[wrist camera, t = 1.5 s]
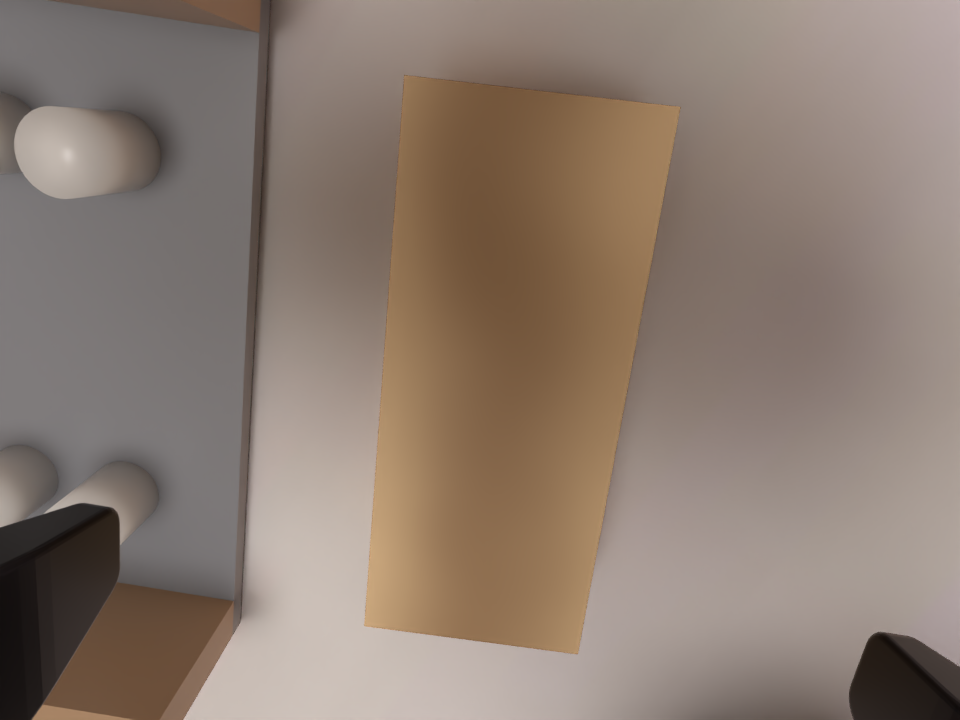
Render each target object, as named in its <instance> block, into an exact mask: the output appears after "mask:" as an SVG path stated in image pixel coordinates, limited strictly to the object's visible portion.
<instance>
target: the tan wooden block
mask: <svg viewBox="0 0 960 720" xmlns="http://www.w3.org/2000/svg"><path fill="white" fill-rule="evenodd" d="M680 108H681V107H676V106H668V105H659V104H650V103H642V102H633V101H624V100H616V99H607V98H598V97H590V96H581V95H572V94H564V93H555V92H547V91H538V90H529V89H521V88H512V87H503V86H495V85H486V84H477V83H469V82H460V81H451V80H443V79H434V78H425V77H417V76H408V75H404V85H403V99H402V113H401V127H400V140H399V154H398V168H397V182H396V196H395V209H394V223H393V237H392V251H391V265H390V278H389V292H388V306H387V320H386V334H385V347H384V361H383V375H382V389H381V403H380V416H379V430H378V444H377V458H376V472H375V486H374V499H373V513H372V527H371V541H370V555H369V568H368V582H367V596H366V610H365V624H364V626H367V627H375V628H383V629H390V630H398V631H405V632H413V633H420V634H428V635H436V636H443V637H451V638H458V639H466V640H474V641H481V642H489V643H496V644H504V645H511V646H519V647H527V648H534V649H542V650H549V651H557V652H564V653H572V654H578V650H579V645H580V640H581V634H582V629H583V624H584V618H585V613H586V608H587V602H588V597H589V592H590V586H591V581H592V576H593V570H594V565H595V560H596V554H597V549H598V544H599V538H600V533H601V528H602V523H603V517H604V512H605V507H606V501H607V496H608V491H609V485H610V480H611V475H612V469H613V464H614V459H615V453H616V448H617V443H618V437H619V432H620V427H621V421H622V416H623V411H624V405H625V400H626V395H627V390H628V384H629V379H630V374H631V368H632V363H633V358H634V352H635V347H636V342H637V336H638V331H639V326H640V320H641V315H642V310H643V304H644V299H645V294H646V288H647V283H648V278H649V272H650V267H651V262H652V257H653V251H654V246H655V241H656V235H657V230H658V225H659V219H660V214H661V209H662V203H663V198H664V193H665V187H666V182H667V177H668V171H669V166H670V161H671V155H672V150H673V145H674V139H675V134H676V129H677V123H678V118H679V113H680Z"/></svg>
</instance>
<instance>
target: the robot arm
mask: <svg viewBox="0 0 960 720" xmlns="http://www.w3.org/2000/svg"><path fill="white" fill-rule="evenodd" d="M119 573H120V519H119V515H118V512H117V511H116V510H115V509H114V508H112V507H107V506H101V505H95V504H89V503H77V504H74V505H71V506H68V507H64V508H61V509H58V510H55V511H51V512H48V513H45V514H42V515H38V516H35V517H32V518H29V519H26V520H22V521H19V522H16V523H13V524H9V525H6V526H3V527H0V720H32V719H33V718H34V716H35V715H36V713H37V712H38V711H39V709H40V708H41V706H42V705H43V704H44V702H45V701H46V699H47V697H48V696H49V694H50V693H51V691H52V690H53V688H54V687H55V685H56V683H57V682H58V680H59V679H60V677H61V675H62V674H63V672H64V670H65V669H66V667H67V665H68V664H69V662H70V660H71V659H72V657H73V656H74V654H75V652H76V651H77V649H78V647H79V646H80V644H81V642H82V641H83V639H84V637H85V636H86V634H87V632H88V631H89V629H90V628H91V626H92V624H93V623H94V621H95V619H96V618H97V616H98V614H99V613H100V611H101V609H102V608H103V606H104V604H105V603H106V601H107V600H108V598H109V596H110V595H111V593H112V591H113V589H114V588H115V586H116V583H117V581H118V577H119ZM849 703H850V709H851V713H852V716H853V719H854V720H960V667H959V666H957V665H956V664H954V663H953V662H951V661H950V660H948V659H946V658H945V657H943V656H942V655H940V654H939V653H937V652H936V651H934V650H932V649H931V648H929V647H928V646H926V645H925V644H923V643H921V642H920V641H918V640H917V639H915V638H912V637H909V636H905V635H898V634H892V633H885V632H877V633H875V634H873V635H872V636H871V637H870V638H869V639H868V641H867V643H866V646H865V649H864V651H863V654H862V657H861V659H860V662H859V665H858V667H857V670H856V672H855V675H854V678H853V680H852V683H851V686H850V692H849Z"/></svg>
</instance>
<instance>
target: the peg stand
mask: <svg viewBox="0 0 960 720" xmlns="http://www.w3.org/2000/svg"><path fill="white" fill-rule="evenodd" d="M269 21H270V0H0V527H3V526H6V525H9V524H13V523H16V522H19V521H22V520H26V519H29V518H32V517H35V516H38V515H42V514H45V513H48V512H51V511H55V510H58V509H61V508H64V507H68V506H71V505H74V504H77V503H89V504H95V505H101V506H107V507H112V508H114V509H115V510H116V511H117V512H118V515H119V519H120V573H119V577H118V581H117V583H116V586H115V588H114V589H113V591H112V593H111V595H110V596H109V598H108V600H107V601H106V603H105V604H104V606H103V608H102V609H101V611H100V613H99V614H98V616H97V618H96V619H95V621H94V623H93V624H92V626H91V628H90V629H89V631H88V632H87V634H86V636H85V637H84V639H83V641H82V642H81V644H80V646H79V647H78V649H77V651H76V652H75V654H74V656H73V657H72V659H71V660H70V662H69V664H68V665H67V667H66V669H65V670H64V672H63V674H62V675H61V677H60V679H59V680H58V682H57V683H56V685H55V687H54V688H53V690H52V691H51V693H50V694H49V696H48V697H47V699H46V701H45V702H44V704H43V705H42V706H41V708H40V709H39V711H38V712H37V713H36V715H35V716H34V718H33V719H32V720H183V719H184V717H185V716H186V714H187V712H188V710H189V709H190V707H191V705H192V704H193V702H194V700H195V699H196V697H197V695H198V693H199V692H200V690H201V688H202V687H203V685H204V683H205V681H206V680H207V678H208V676H209V675H210V673H211V671H212V670H213V668H214V666H215V664H216V663H217V661H218V659H219V658H220V656H221V654H222V652H223V651H224V649H225V647H226V646H227V644H228V642H229V641H230V639H231V637H232V635H233V634H234V632H235V630H236V629H237V627H238V625H239V623H240V618H241V598H242V577H243V556H244V536H245V515H246V495H247V474H248V453H249V433H250V412H251V392H252V371H253V350H254V330H255V309H256V289H257V268H258V247H259V227H260V206H261V186H262V165H263V144H264V124H265V103H266V83H267V62H268V41H269Z"/></svg>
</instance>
